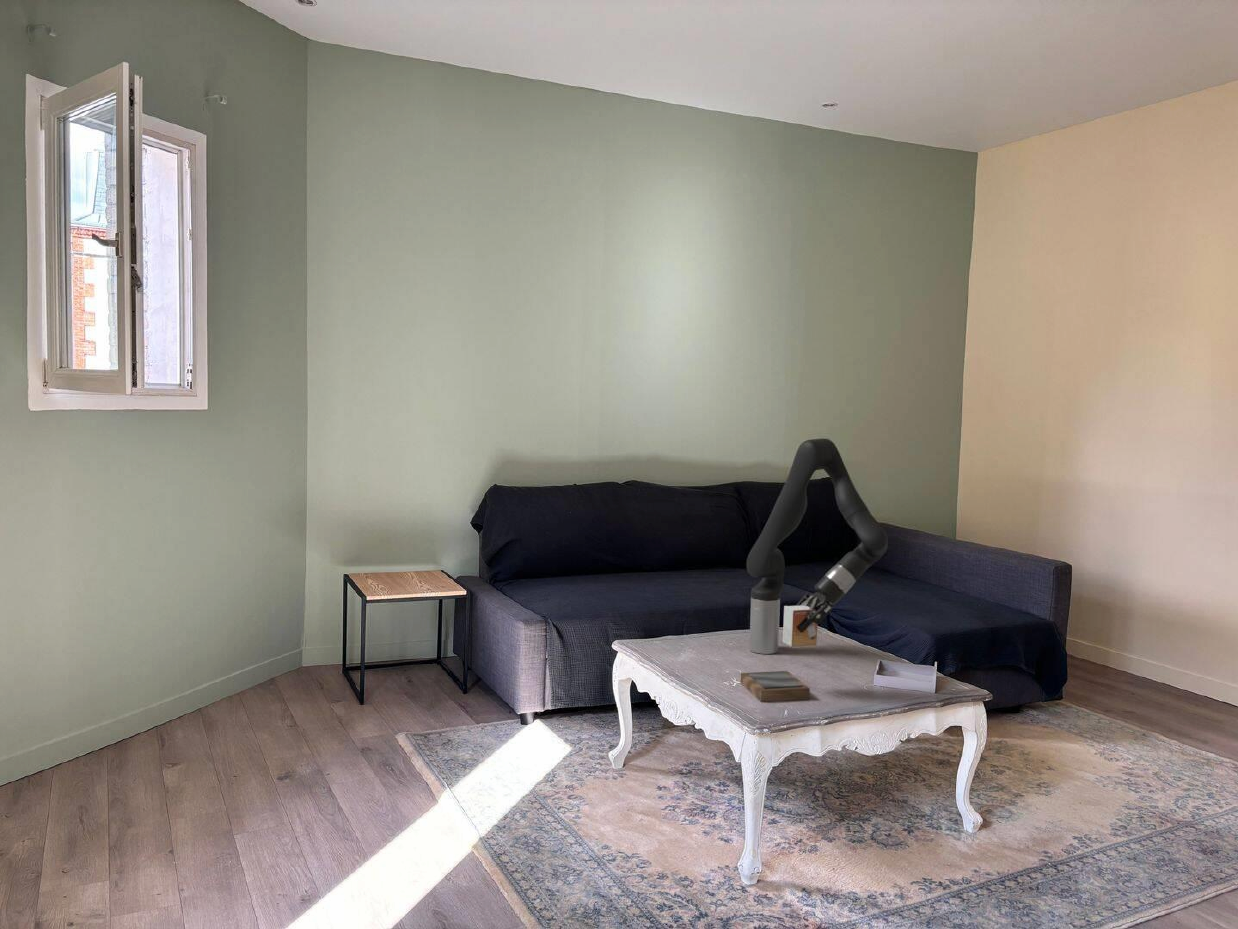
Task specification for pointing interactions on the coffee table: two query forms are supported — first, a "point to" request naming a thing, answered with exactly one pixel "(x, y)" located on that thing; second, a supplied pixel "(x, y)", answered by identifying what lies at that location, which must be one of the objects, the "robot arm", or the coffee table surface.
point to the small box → (790, 631)
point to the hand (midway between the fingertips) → (794, 627)
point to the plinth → (774, 686)
